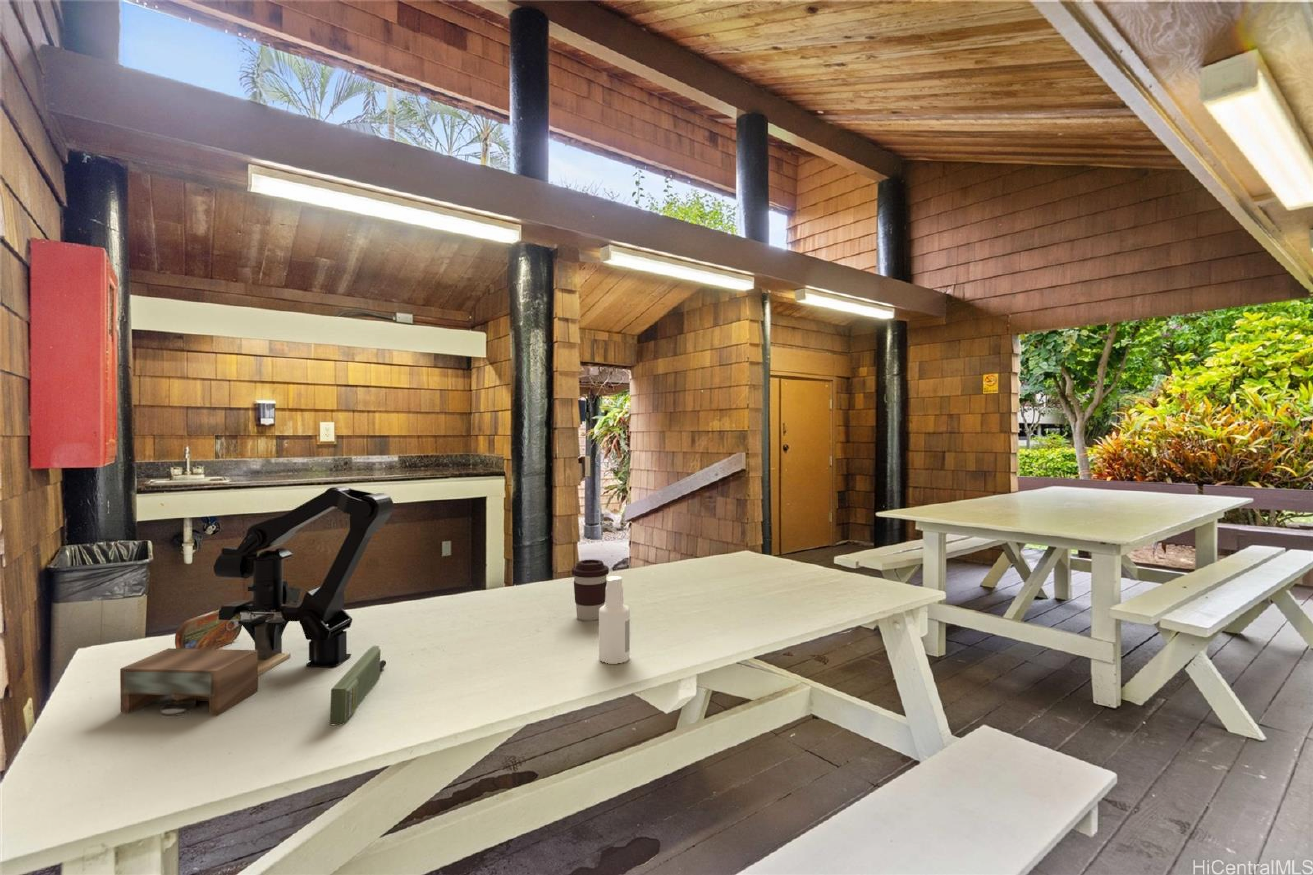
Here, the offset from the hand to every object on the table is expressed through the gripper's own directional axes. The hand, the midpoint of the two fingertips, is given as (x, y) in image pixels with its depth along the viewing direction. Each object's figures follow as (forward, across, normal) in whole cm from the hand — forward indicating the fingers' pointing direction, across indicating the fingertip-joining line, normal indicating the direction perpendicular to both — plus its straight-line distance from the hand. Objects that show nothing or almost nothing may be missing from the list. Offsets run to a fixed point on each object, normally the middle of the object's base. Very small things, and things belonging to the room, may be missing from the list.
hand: (268, 649), depth 132 cm
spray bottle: (+2, -76, -5) cm, 76 cm away
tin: (+3, +18, -5) cm, 19 cm away
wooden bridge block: (+2, 0, +20) cm, 21 cm away
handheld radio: (+3, -30, +15) cm, 34 cm away
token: (+3, 0, +24) cm, 24 cm away
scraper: (+2, 0, +9) cm, 9 cm away
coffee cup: (+3, -66, -34) cm, 74 cm away
